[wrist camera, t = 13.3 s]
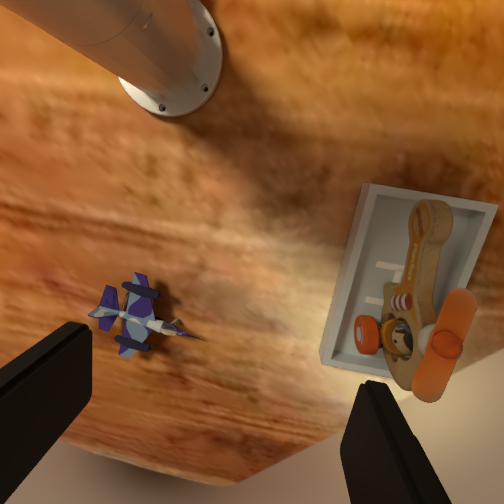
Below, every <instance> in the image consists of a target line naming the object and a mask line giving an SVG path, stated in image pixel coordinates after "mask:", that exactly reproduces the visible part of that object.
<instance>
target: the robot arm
mask: <svg viewBox="0 0 504 504" xmlns="http://www.w3.org/2000/svg"><path fill="white" fill-rule="evenodd" d="M0 5H2V6H4V7H5V8H7V9H9V10H11V11H12V12H14V13H16V14H17V15H19V16H21V17H23V18H24V19H26V20H27V21H29V22H31V23H33V24H34V25H36V26H37V27H39V28H41V29H42V30H44V31H46V32H47V33H49V34H50V35H52V36H53V37H55V38H57V39H58V40H60V41H61V42H63V43H65V44H66V45H68V46H70V47H71V48H73V49H74V50H76V51H78V52H79V53H81V54H82V55H84V56H86V57H87V58H89V59H91V60H92V61H94V62H95V63H97V64H99V65H100V66H102V67H103V68H105V69H107V70H108V71H110V72H112V73H113V74H115V75H116V76H118V79H119V81H120V83H121V85H122V86H123V88H124V90H125V91H126V93H127V94H128V95H129V96H130V97H131V99H132V100H133V101H135V102H136V103H137V104H138V105H139V106H141V107H142V108H144V109H146V110H147V111H149V112H151V113H154V114H156V115H159V116H164V117H180V116H185V115H188V114H190V113H192V112H194V111H196V110H197V109H199V108H200V107H201V106H203V105H204V104H205V103H206V102H207V101H208V99H209V98H210V97H211V96H212V94H213V92H214V91H215V89H216V87H217V85H218V82H219V79H220V76H221V71H222V67H223V49H222V42H221V38H220V35H219V32H218V29H217V27H216V24H215V22H214V20H213V18H212V16H211V15H210V13H209V12H208V10H207V9H206V8H205V6H204V5H203V4H202V3H201V2H200V1H199V0H0ZM212 33H213V34H214V35H213V36H210V35H211V34H212ZM206 88H208V91H207V92H205V89H206ZM165 107H166V110H165V111H163V109H164V108H165ZM91 395H92V331H91V330H90V329H89V327H88V325H86V324H82V323H77V322H72V321H70V322H67V323H65V324H64V325H62V326H61V327H60V328H58V329H57V330H55V331H54V332H52V333H51V334H49V335H48V336H47V337H45V338H44V339H42V340H41V341H39V342H38V343H37V344H35V345H34V346H32V347H31V348H29V349H28V350H26V351H25V352H24V353H22V354H21V355H19V356H18V357H16V358H15V359H14V360H12V361H11V362H9V363H8V364H6V365H5V366H3V367H2V368H1V369H0V504H4V503H5V502H6V501H7V499H8V498H9V497H10V496H11V494H12V493H13V492H14V491H15V490H16V489H17V487H18V486H19V485H20V484H21V483H22V481H23V480H24V479H25V478H26V477H27V475H28V474H29V473H30V472H31V471H32V469H33V468H34V467H35V466H36V465H37V463H38V462H39V461H40V460H41V459H42V457H43V456H44V455H45V453H47V451H48V450H49V449H50V448H51V447H52V446H53V444H54V443H55V442H56V441H57V440H58V438H59V437H60V436H61V435H62V434H63V432H64V431H65V430H66V429H67V428H68V426H69V425H70V424H71V423H72V422H73V420H74V419H75V418H76V417H77V416H78V414H79V413H80V412H81V411H82V410H83V408H84V407H85V406H86V405H87V403H88V402H89V400H90V398H91ZM340 456H341V461H342V466H343V470H344V474H345V479H346V484H347V488H348V493H349V497H350V502H351V504H452V503H451V501H450V499H449V497H448V495H447V493H446V492H445V490H444V488H443V486H442V484H441V482H440V480H439V478H438V476H437V475H436V473H435V471H434V469H433V467H432V465H431V463H430V461H429V460H428V458H427V456H426V454H425V452H424V450H423V448H422V446H421V444H420V443H419V441H418V439H417V438H416V436H415V435H413V433H412V431H411V429H410V427H409V425H408V424H407V421H406V420H405V418H404V416H403V414H402V412H401V410H400V408H399V406H398V404H397V402H396V400H395V398H394V397H393V395H392V393H391V391H390V389H389V387H388V385H387V384H385V383H381V382H376V381H371V380H367V381H366V382H365V384H363V383H362V384H360V386H359V389H358V392H357V395H356V398H355V401H354V405H353V408H352V411H351V414H350V417H349V420H348V423H347V426H346V429H345V433H344V436H343V439H342V442H341V446H340Z"/></svg>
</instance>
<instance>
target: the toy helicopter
mask: <svg viewBox="0 0 504 504" xmlns="http://www.w3.org/2000/svg"><path fill="white" fill-rule="evenodd" d="M453 221H454V220H453V213H452V209H451V207H450V206H449V205H448V203H446V202H445V201H442V200H432V199H422V200H420V201H418V202H417V203H416V204H415V205H414V207H413V209H412V211H411V213H410V216H409V222H408V233H409V247H408V252H407V257H406V262H405V267H404V272H403V277H402V280H401V282H400V283H394V282H386V283H385V284H384V287H383V295H384V304H383V308H382V313H381V323H377V322H376V320H375V318H374V317H373V316H370V315H359V316H358V317H357V318H356V320H355V323H354V339H355V344H356V348H357V350H358V351H359V353H360V354H364V355H374V354H376V353H377V351H378V348H379V349H380V348H383V353H384V357H385V361H386V363H387V366H388V369H389V371H390V373H391V375H392V377H393V379H394V380H395V382H396V383H397V384H398V385H399V386H400V388H402V389H403V390H406V391H412V392H413V394H414V395H415V396H416V397H417V398H418V399H419V400H421V401H424V402H427V403H432V402H436V401H437V400H439V399H440V398H441V396H442V394H443V392H444V390H445V388H446V385H447V383H448V381H449V378H450V376H451V374H452V371H453V369H454V366H455V363H456V361H457V360H458V359H459V357H460V355H461V353H462V350H463V345H462V343H463V341H464V339H465V337H466V334H467V332H468V329H469V327H470V325H471V322H472V319H473V317H474V314H475V312H476V310H477V299H476V297H475V295H474V294H473V293H472V292H471V291H469V290H467V289H465V288H455V289H452V290H450V291H449V292H448V294H447V296H446V299H445V302H444V304H443V306H442V309H441V311H440V314H439V317H438V319H437V315H436V311H435V308H434V304H433V294H434V288H435V282H436V277H437V271H438V265H439V259H440V253H441V249H442V246H443V245H444V243H445V242H446V241H447V240H448V238H449V236H450V234H451V232H452V228H453ZM406 356H411V357H406Z"/></svg>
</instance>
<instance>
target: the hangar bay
mask: <svg viewBox="0 0 504 504" xmlns="http://www.w3.org/2000/svg"><path fill="white" fill-rule="evenodd" d="M422 199H432V200H442V201H445V202H446V203H448V205H449V206H450V207H451V209H452V213H453V220H454V221H453V228H452V232H451V234H450V236H449V238H448V240H447V241H446V242H445V243H444V245H443V246H442V249H441V253H440V259H439V265H438V271H437V277H436V282H435V288H434V294H433V304H434V308H435V311H436V315H437V319H438V317H439V314H440V311H441V309H442V306H443V304H444V302H445V299H446V296H447V294H448V292H449V291H450V290H452V289H455V288H466V286H467V283H468V281H469V279H470V276H471V274H472V271H473V269H474V266H475V264H476V261H477V259H478V256H479V254H480V251H481V249H482V246H483V244H484V241H485V239H486V236H487V234H488V231H489V229H490V226H491V224H492V221H493V219H494V216H495V214H496V211H497V209H498V206H499V205H497V204H491V203H485V202H479V201H473V200H467V199H461V198H455V197H450V196H444V195H438V194H432V193H426V192H420V191H414V190H408V189H402V188H396V187H390V186H384V185H378V184H372V183H363V184H362V188H361V192H360V196H359V199H358V203H357V207H356V211H355V215H354V218H353V222H352V226H351V230H350V234H349V237H348V241H347V245H346V249H345V253H344V256H343V260H342V264H341V268H340V272H339V275H338V279H337V283H336V287H335V291H334V294H333V298H332V302H331V306H330V310H329V313H328V317H327V321H326V325H325V328H324V332H323V336H322V340H321V344H320V347H319V355H320V359H321V364H322V365H327V366H332V367H337V368H343V369H348V370H353V371H358V372H363V373H368V374H373V375H378V376H383V377H388V378H393V377H392V375H391V373H390V371H389V369H388V366H387V363H386V361H385V357H384V353H383V348H380V349H379V348H378V351H377V353H376V354H374V355H364V354H360V353H359V351H358V350H357V348H356V344H355V339H354V323H355V320H356V318H357V317H358V316H359V315H370V316H373V317H374V318H375V320H376V322H377V323H381V313H382V308H383V304H384V295H383V287H384V284H385V283H386V282H394V283H400V282H401V280H402V277H403V272H404V267H405V262H406V257H407V252H408V247H409V233H408V222H409V216H410V213H411V211H412V209H413V207H414V205H415V204H416V203H417V202H418V201H420V200H422ZM406 357H411V356H406Z"/></svg>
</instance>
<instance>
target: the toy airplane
mask: <svg viewBox="0 0 504 504" xmlns="http://www.w3.org/2000/svg"><path fill="white" fill-rule="evenodd" d="M122 287H123V288H125V289H127V290H128V291H130V292H129V293H127V294H126V296H127V297H126V300H125V302H124V305H123V308H122V310H119V304H118V297H117V290H116V288H115V287H111V286H108V285H106V287H105V290H104V293H103V296H102V298H101V301H100V305H99V306H98V307H97V308H96V309H95V310H93V311H92V312H90V313H89V314H88V316H90V317H93V318H96V319H97V318H99V329H101V330H104V331H107V332H108V331H109V330H110V328H111V326H112V325H113V323H114V321H115V320H116V318H117V316H119V317H121V318H122V322H123V321H125V324H124V329H123V334H122V336H119V335H117V336H115V338H114V340H115V341H116V342H118V343H120V344H121V345H120V350H119V355H120V356H123V357H126V358H130V357H131V356H132V355H133V354H134V352H135V351H136V350H141V351H146V352H148V351H149V350H153V349H152V348H151V347H150V346H151V345H150V344H148V343H145V342H143V341H144V340H145V339H146V338H147V337H148V335H149V334H150V333H151V332H152V330H155V331H157V332H159V333H163V334H165V335H174V336H176V335H183V336H189V337H193V338H197V337H194V336H191V335H189V334H187V333H185V332H183V331H181V330H180V329H178V328H176V327H174V326H175V325H178V324H180V320H178V319H174V320H173V322H172V323H174V324H175V325H171V324H172V323H170V324H169V323H167V322H166V321H165V320H163V319H161V318H159V317H157V316H155V314H154V309H153V304H152V299H151V298H154V299H158V298H159V297H162V296H161V295H160V292H158V291H156V290H154V289H152V288H150V287H149V285H148V280H147V276H146V275H143V274H140V273H137V272H135V273H134V274H133V279H132V282H123V283H122ZM128 297H129V300H128V305H127V310H126V312H125V311H123V309H124V306H125V303H126V301H127V298H128ZM197 339H200V338H197ZM201 340H202V339H201ZM204 341H205V340H204Z"/></svg>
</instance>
